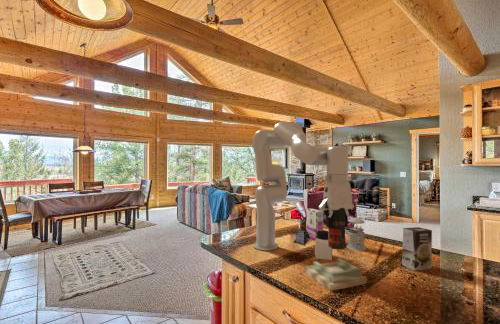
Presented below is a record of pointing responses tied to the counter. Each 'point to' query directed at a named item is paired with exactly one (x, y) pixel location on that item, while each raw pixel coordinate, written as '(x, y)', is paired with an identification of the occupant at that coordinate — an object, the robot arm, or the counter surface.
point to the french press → (356, 234)
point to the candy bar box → (314, 222)
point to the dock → (336, 274)
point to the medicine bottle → (322, 246)
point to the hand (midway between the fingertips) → (336, 226)
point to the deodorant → (337, 230)
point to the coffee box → (417, 248)
